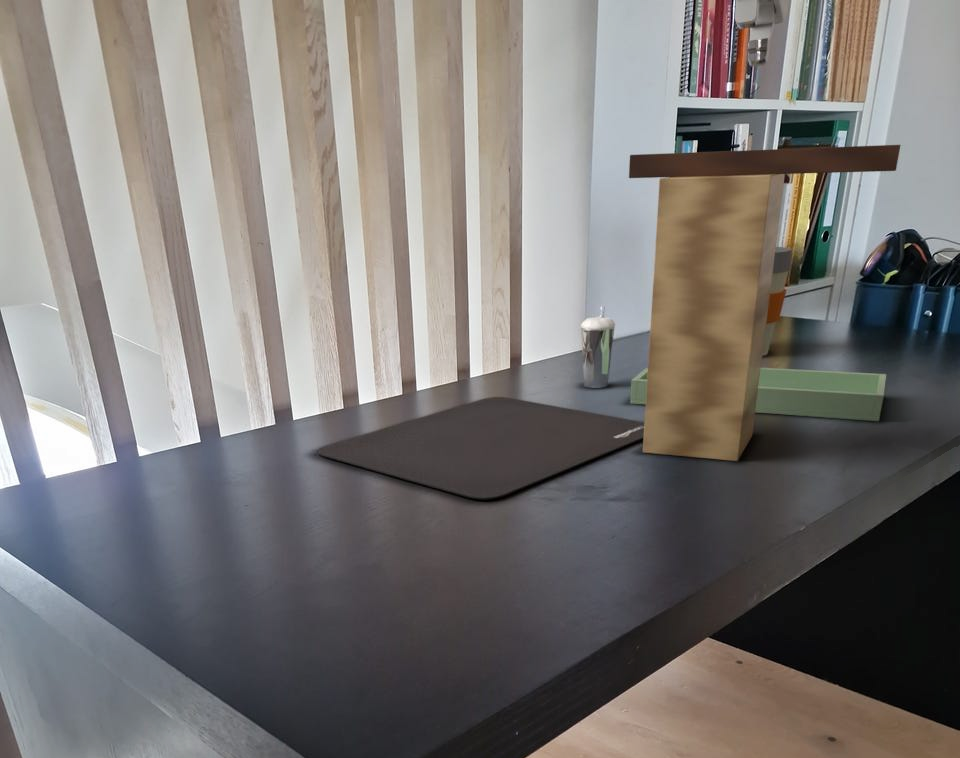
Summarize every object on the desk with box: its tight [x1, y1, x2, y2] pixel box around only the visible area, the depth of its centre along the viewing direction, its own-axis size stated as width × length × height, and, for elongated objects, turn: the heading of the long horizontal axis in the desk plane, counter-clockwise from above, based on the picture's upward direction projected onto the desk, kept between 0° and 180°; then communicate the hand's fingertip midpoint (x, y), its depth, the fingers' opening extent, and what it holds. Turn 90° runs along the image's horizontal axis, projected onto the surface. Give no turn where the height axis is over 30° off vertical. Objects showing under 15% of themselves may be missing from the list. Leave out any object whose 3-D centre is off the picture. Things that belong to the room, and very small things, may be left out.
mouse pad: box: [316, 396, 645, 500], centre depth 97 cm, size 32×27×1 cm
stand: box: [642, 174, 786, 462], centre depth 88 cm, size 10×10×26 cm
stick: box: [628, 144, 901, 179], centre depth 80 cm, size 24×2×2 cm, turn 66°
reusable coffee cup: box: [762, 246, 793, 357], centre depth 133 cm, size 13×13×15 cm
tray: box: [629, 366, 887, 422], centre depth 109 cm, size 30×12×3 cm, turn 66°
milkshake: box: [580, 306, 616, 389], centre depth 118 cm, size 4×5×10 cm
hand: (752, 45), depth 78 cm, fingers open, 8 cm apart
